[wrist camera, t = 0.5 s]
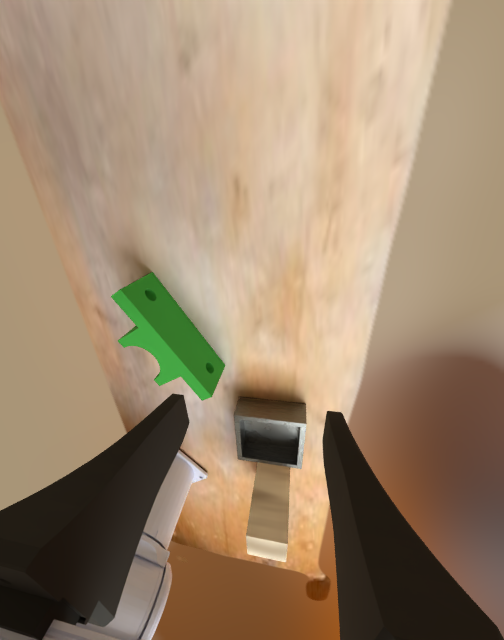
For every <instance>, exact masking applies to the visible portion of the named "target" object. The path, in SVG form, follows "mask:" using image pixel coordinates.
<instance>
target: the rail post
mask: <svg viewBox="0 0 504 640" xmlns="http://www.w3.org/2000/svg"><path fill="white" fill-rule="evenodd" d="M289 487H290V467H286V466H279V465H272V464H266V463H259V462H257V469H256V475H255V481H254V488H253V494H252V501H251V507H250V514H249V520H248V526H247V533H246V541H247V553H248V554H250V555H255V556H259V557H264V558H269V559H273V560H278V561H282V562H286V557H287V545H288V517H289Z"/></svg>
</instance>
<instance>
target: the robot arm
mask: <svg viewBox="0 0 504 640" xmlns="http://www.w3.org/2000/svg"><path fill="white" fill-rule="evenodd" d="M188 425H189V418H188V414H187V409H186V404H185V400H184V395H179V394H172V395H171V396H170V397H168V398H167V399H166V400H165V401H164V402H163V403H162V404H161V405H159V406H158V407H157V408H156V409H155V410H154V411H153V412H152V413H150V414H149V415H148V416H147V417H146V418H145V419H144V420H142V421H141V422H140V423H139V424H138V425H137V426H135V427H134V428H133V429H132V430H131V431H129V432H128V433H127V434H126V435H124V436H123V437H122V438H121V439H119V440H118V441H117V442H116V443H114V444H113V445H112V446H110V447H109V448H108V449H106V450H105V451H104V452H102V453H100V454H99V455H98V456H96V457H95V458H93V459H92V460H90V461H89V462H87V463H86V464H84V465H82V466H81V467H79V468H78V469H76V470H74V471H73V472H71V473H70V474H68V475H66V476H65V477H63V478H62V479H60V480H58V481H56V482H54V483H53V484H51V485H49V486H47V487H46V488H44V489H42V490H40V491H38V492H37V493H35V494H33V495H31V496H29V497H27V498H25V499H23V500H21V501H19V502H17V503H15V504H13V505H11V506H9V507H7V508H5V509H3V510H1V511H0V640H151V638H152V636H153V634H154V632H155V630H156V628H157V625H158V623H159V620H160V618H161V615H162V612H163V609H164V607H165V603H166V601H167V597H168V594H169V590H170V586H171V580H172V572H171V565H170V564H169V563H168V562H167V559H168V557H169V554H170V552H169V551H167V548H168V546H169V543H170V540H171V538H172V535H173V532H174V530H175V527H176V524H177V521H178V519H179V516H180V513H181V511H182V508H183V505H184V503H185V500H186V497H187V494H188V492H189V489H190V486H191V484H192V483H194V482H197V481H200V480H203V479H206V478H207V476H208V474H207V473H206V472H205V471H204V470H203V469H202V468H200V467H199V466H198V465H197V464H196V463H194V462H193V461H192V460H191V459H190V458H188V457H187V456H186V455H185V454H184V453H182V452H181V451H180V450H179V449H180V446H181V444H182V442H183V439H184V437H185V434H186V431H187V428H188ZM323 458H324V468H325V475H326V481H327V488H328V494H329V501H330V508H331V514H332V521H333V530H334V543H335V557H336V572H337V586H338V587H337V588H338V604H339V622H340V640H504V639H503V637H502V635H501V633H500V631H499V629H498V627H497V626H496V625H495V624H494V623H493V622H492V620H491V619H490V618H489V617H488V616H487V615H486V614H485V613H484V612H483V611H482V610H481V609H480V607H478V605H477V604H476V603H475V602H474V601H473V600H472V599H471V598H470V596H469V595H468V594H467V593H466V592H465V591H464V590H463V589H462V587H461V586H460V585H459V584H458V583H457V582H456V581H455V580H454V578H453V577H452V576H451V575H450V574H449V573H448V571H447V570H446V569H445V568H444V567H443V566H442V564H441V563H440V562H439V561H438V560H437V559H436V557H435V556H434V555H433V554H432V552H431V551H430V550H429V549H428V547H427V546H426V545H425V544H424V542H423V541H422V540H421V539H420V537H419V536H418V535H417V534H416V532H415V531H414V530H413V529H412V527H411V526H410V525H409V523H408V522H407V521H406V519H405V518H404V517H403V516H402V514H401V513H400V511H399V510H398V509H397V507H396V506H395V504H394V503H393V502H392V500H391V499H390V497H389V496H388V495H387V493H386V492H385V490H384V488H383V487H382V485H381V484H380V482H379V481H378V479H377V478H376V476H375V474H374V473H373V471H372V470H371V468H370V466H369V465H368V463H367V461H366V459H365V458H364V456H363V454H362V452H361V451H360V449H359V447H358V445H357V443H356V442H355V440H354V438H353V436H352V434H351V432H350V430H349V427H348V425H347V423H346V421H345V419H344V416H343V414H342V413H341V412H332V411H327V415H326V421H325V428H324V434H323Z"/></svg>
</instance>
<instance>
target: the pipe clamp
mask: <svg viewBox="0 0 504 640" xmlns="http://www.w3.org/2000/svg"><path fill="white" fill-rule="evenodd" d="M111 297H112V298H113V300H114V301H115V302H116V303H117V304H118V305H119V306H120V308H121V309H122V310H123V311H124V312H125V313H126V314H127V316H128V317H129V318H130V319H131V320H132V321H133V322H134V323H135V325H136V326H135V327H134V328H133V329H132V330H130V331H129V332H128V333H127V334H125V335H124V336H123V337H122V338H121V339H119V340H118V342H119V343H120V344H121V345H122V346H123V347H124V348H125V347H127V346H138V347H141V348H143V349H145V350H147V351H149V352H150V353H151V354H152V355H153V356H154V357H155V358H156V359H157V361H158V363H159V365H160V373H159V374H158V375H157V377H156V378H155V379H154V380H155V381H156V383H157V384H158V385H159V386H160V385H163V384H165V383H167V382H169V381H172V380H174V379H176V378H178V377H180V376H181V377H182V378H183V379H184V380H185V382H186V383H187V384H188V385H189V386H190V387H191V388H192V390H193V391H194V392H195V393H196V394H197V395H198V396H199V398H200V399H201V400H205V399H208V398H210V397H212V395H213V393H214V391H215V388H216V386H217V384H218V381H219V379H220V377H221V374H222V372H223V370H224V367H225V364H224V363H223V362H222V360H221V359H220V358H219V357H218V355H217V354H216V353H215V351H214V350H213V349H212V348H211V346H210V345H209V344H208V342H207V341H206V340H205V339H204V337H203V336H202V335H201V333H200V332H199V331H198V330H197V328H196V327H195V326H194V325H193V323H192V322H191V321H190V319H189V318H188V317H187V316H186V314H185V313H184V312H183V310H182V309H181V308H180V307H179V305H178V304H177V303H176V301H175V300H174V299H173V298H172V296H171V295H170V294H169V292H168V291H167V290H166V289H165V287H164V286H163V285H162V283H161V282H160V281H159V280H158V278H157V277H156V276H155V275H154V273H153V272H151V273H150V274H148V275H146V276H144V277H142V278H140V279H139V280H137V281H135V282H133V283H131V284H129V285H128V286H126V287H124V288H122V289H120V290H119V291H118V292H116V293H115V294H114V295H112V296H111Z"/></svg>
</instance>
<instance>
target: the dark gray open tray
mask: <svg viewBox="0 0 504 640" xmlns="http://www.w3.org/2000/svg"><path fill="white" fill-rule="evenodd" d="M234 421H235V432H236V443H237V454H238V459H240V460H246V461H253V462H259V463H266V464H272V465H279V466H286V467H292V468H299V469H302V460H303V450H304V441H305V432H306V404H303V403H293V402H284V401H275V400H266V399H257V398H247V397H239V400H238V403H237V407H236V410H235V413H234Z"/></svg>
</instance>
